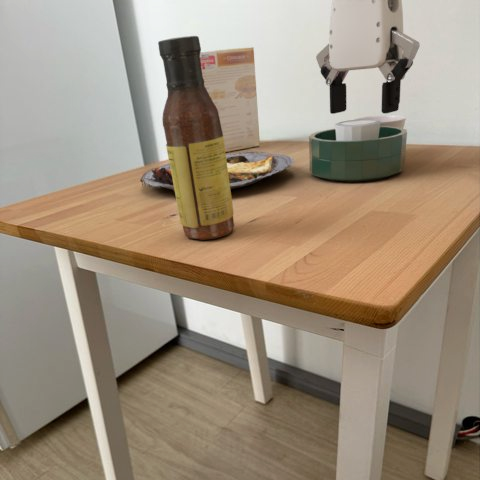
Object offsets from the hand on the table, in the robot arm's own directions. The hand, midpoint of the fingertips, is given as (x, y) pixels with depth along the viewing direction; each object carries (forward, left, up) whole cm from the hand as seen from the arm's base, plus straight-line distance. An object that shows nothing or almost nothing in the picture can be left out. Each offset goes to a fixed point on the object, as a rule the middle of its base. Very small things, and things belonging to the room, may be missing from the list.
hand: (362, 112), depth 72 cm
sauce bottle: (+34, +4, -9) cm, 35 cm away
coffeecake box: (-3, -40, -9) cm, 41 cm away
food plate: (+17, -17, -9) cm, 25 cm away
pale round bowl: (-11, -6, -9) cm, 16 cm away
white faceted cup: (+1, -1, -9) cm, 9 cm away
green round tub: (+1, -1, -9) cm, 9 cm away
